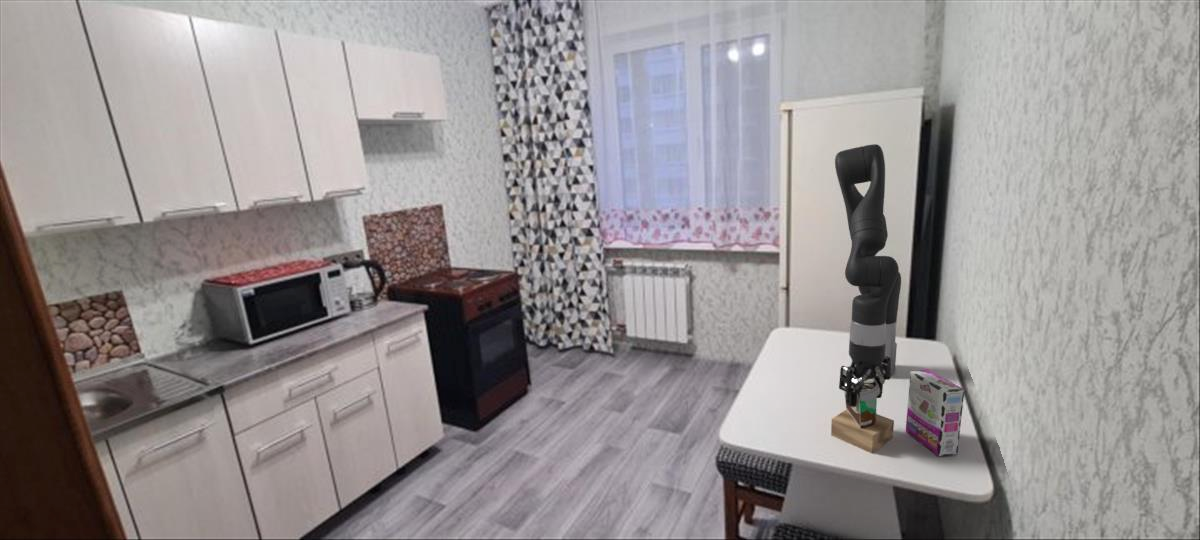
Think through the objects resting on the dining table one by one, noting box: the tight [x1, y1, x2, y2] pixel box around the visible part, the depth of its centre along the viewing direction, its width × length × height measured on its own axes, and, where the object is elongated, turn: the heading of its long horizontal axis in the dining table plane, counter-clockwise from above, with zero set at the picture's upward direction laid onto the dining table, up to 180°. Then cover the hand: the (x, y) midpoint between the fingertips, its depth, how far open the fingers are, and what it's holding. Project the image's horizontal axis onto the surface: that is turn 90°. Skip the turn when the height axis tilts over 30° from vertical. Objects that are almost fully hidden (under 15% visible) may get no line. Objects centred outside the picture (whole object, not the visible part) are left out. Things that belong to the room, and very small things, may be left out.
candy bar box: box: [905, 369, 965, 458], centre depth 114 cm, size 11×5×16 cm, turn 5°
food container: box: [844, 376, 880, 428], centre depth 119 cm, size 12×6×10 cm, turn 172°
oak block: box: [830, 409, 895, 454], centre depth 120 cm, size 10×10×5 cm
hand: (863, 401), depth 118 cm, fingers open, 8 cm apart
